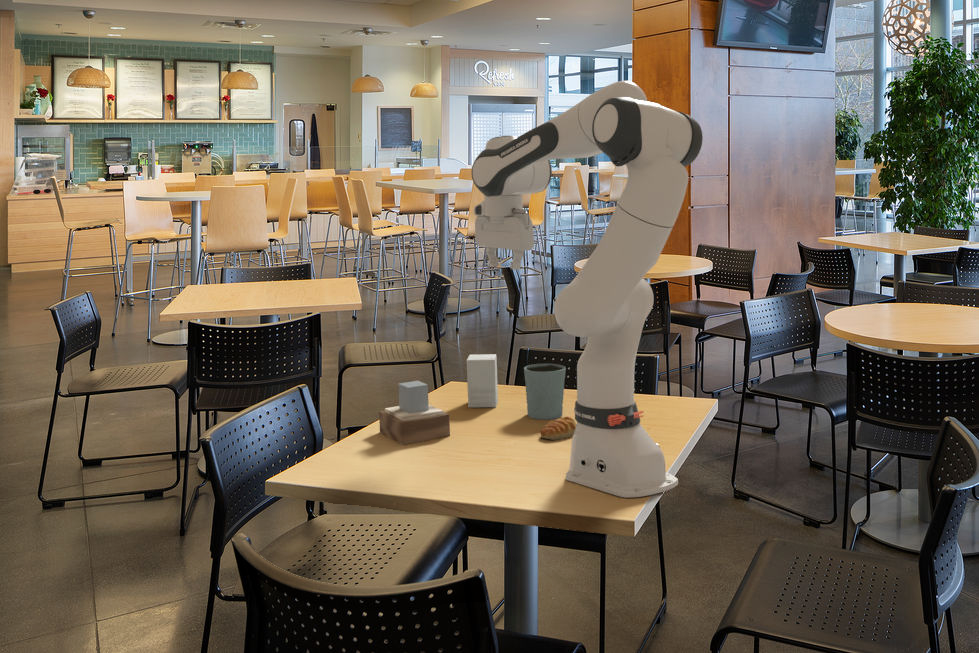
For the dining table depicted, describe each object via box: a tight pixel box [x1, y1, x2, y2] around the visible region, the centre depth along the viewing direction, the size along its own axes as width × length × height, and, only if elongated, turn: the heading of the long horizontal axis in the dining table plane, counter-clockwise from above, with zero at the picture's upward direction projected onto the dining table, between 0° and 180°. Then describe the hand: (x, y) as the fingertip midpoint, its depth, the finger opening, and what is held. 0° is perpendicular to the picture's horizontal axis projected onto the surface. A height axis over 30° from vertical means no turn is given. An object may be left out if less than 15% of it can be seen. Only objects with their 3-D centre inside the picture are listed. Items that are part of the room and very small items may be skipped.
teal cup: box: [523, 363, 567, 421], centre depth 219 cm, size 10×10×12 cm
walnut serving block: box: [378, 404, 451, 445], centre depth 205 cm, size 12×12×6 cm
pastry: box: [540, 416, 577, 441], centre depth 202 cm, size 9×7×4 cm
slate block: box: [397, 380, 430, 414], centre depth 204 cm, size 5×5×6 cm
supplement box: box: [466, 353, 499, 408], centre depth 230 cm, size 7×7×13 cm
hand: (504, 267), depth 208 cm, fingers open, 8 cm apart
